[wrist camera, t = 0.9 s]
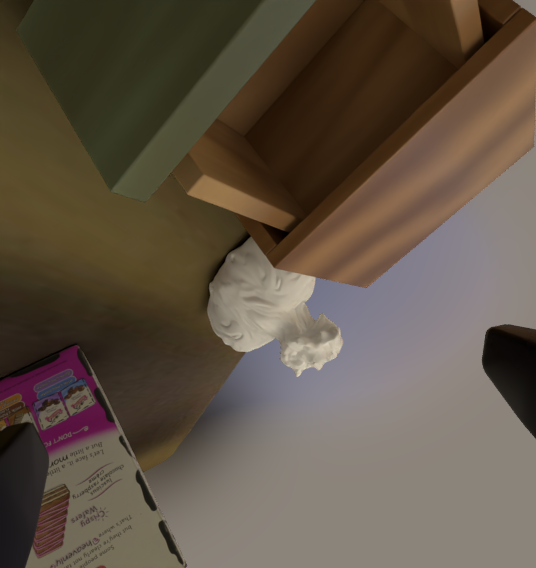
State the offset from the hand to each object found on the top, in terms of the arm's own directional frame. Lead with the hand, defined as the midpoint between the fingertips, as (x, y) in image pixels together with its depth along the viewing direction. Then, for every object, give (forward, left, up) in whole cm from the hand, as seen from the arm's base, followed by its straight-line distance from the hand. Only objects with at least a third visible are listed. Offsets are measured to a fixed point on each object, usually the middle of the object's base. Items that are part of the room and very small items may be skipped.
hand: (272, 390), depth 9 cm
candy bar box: (+2, -27, -14) cm, 30 cm away
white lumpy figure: (+18, -16, -14) cm, 29 cm away
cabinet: (+14, -1, -14) cm, 20 cm away
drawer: (+6, +3, -13) cm, 15 cm away
